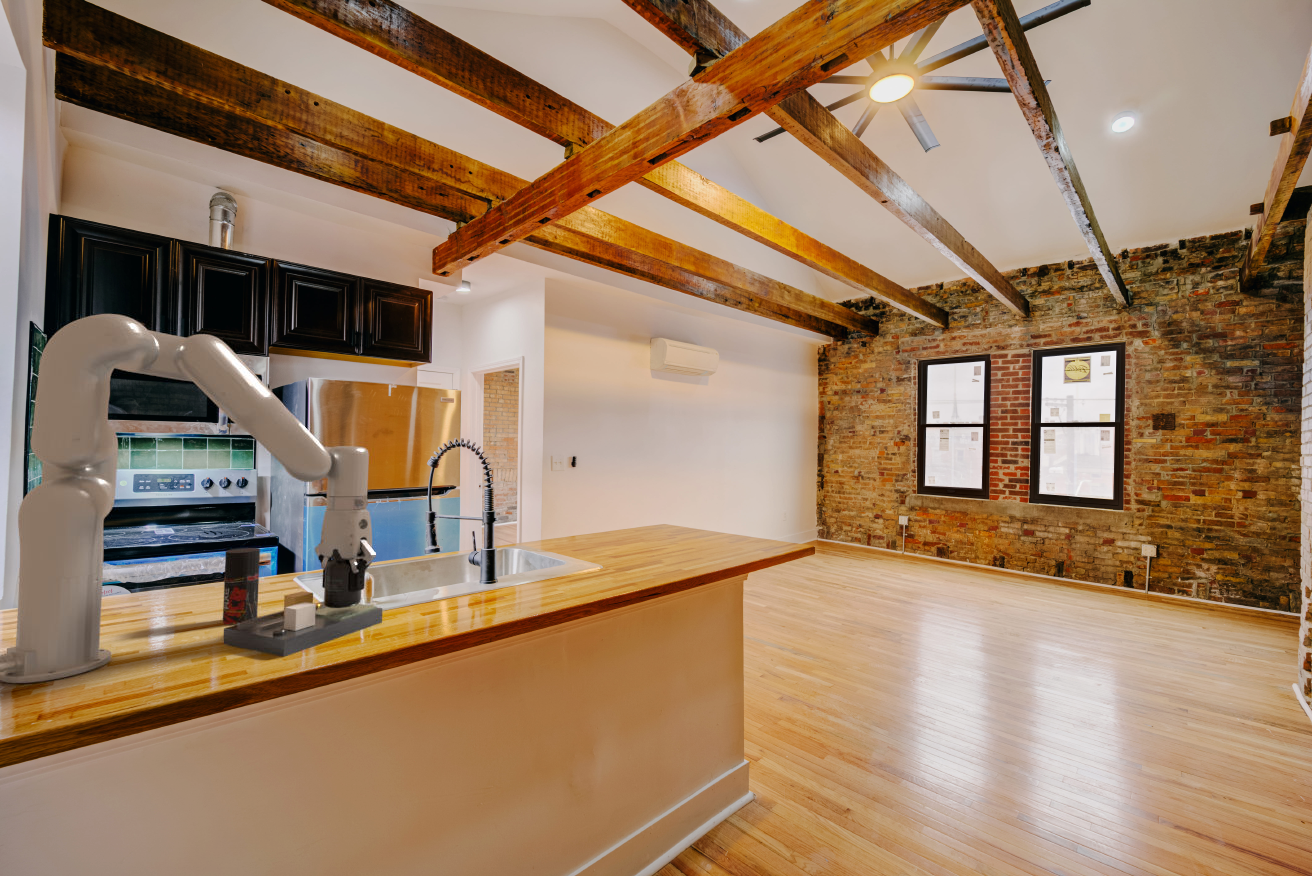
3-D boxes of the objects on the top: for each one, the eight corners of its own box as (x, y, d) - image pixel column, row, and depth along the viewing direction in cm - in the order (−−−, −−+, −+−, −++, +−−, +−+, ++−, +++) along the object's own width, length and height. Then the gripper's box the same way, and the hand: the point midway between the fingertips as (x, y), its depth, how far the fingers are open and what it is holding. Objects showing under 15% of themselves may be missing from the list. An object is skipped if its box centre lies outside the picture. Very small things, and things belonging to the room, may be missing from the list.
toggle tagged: (294, 617, 112) (295, 597, 113) (283, 615, 113) (284, 595, 114) (312, 612, 116) (313, 592, 116) (302, 610, 117) (302, 591, 117)
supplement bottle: (345, 598, 122) (347, 543, 122) (368, 602, 119) (370, 546, 120) (316, 606, 116) (318, 548, 116) (339, 610, 113) (341, 551, 113)
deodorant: (263, 617, 122) (266, 548, 122) (241, 625, 116) (244, 553, 116) (239, 615, 123) (242, 547, 123) (215, 624, 117) (218, 552, 117)
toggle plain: (295, 630, 104) (296, 609, 104) (283, 628, 105) (284, 607, 105) (314, 624, 108) (315, 604, 108) (303, 622, 109) (304, 602, 109)
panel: (283, 656, 100) (284, 636, 100) (223, 644, 105) (223, 625, 105) (382, 622, 120) (382, 605, 120) (327, 613, 126) (327, 597, 126)
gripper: (392, 505, 119) (389, 589, 118) (332, 500, 124) (328, 580, 124) (363, 508, 112) (359, 597, 111) (300, 503, 117) (296, 588, 117)
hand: (343, 588), depth 117 cm, fingers closed on supplement bottle, 6 cm apart
